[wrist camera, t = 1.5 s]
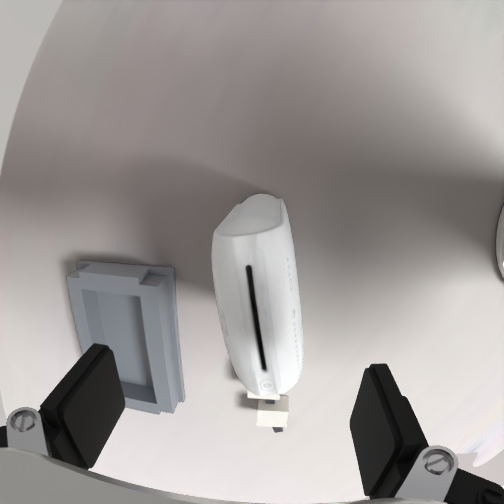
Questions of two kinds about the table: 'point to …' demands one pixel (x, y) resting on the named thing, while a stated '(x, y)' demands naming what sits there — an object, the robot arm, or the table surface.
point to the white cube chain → (272, 410)
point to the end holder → (132, 328)
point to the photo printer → (259, 294)
